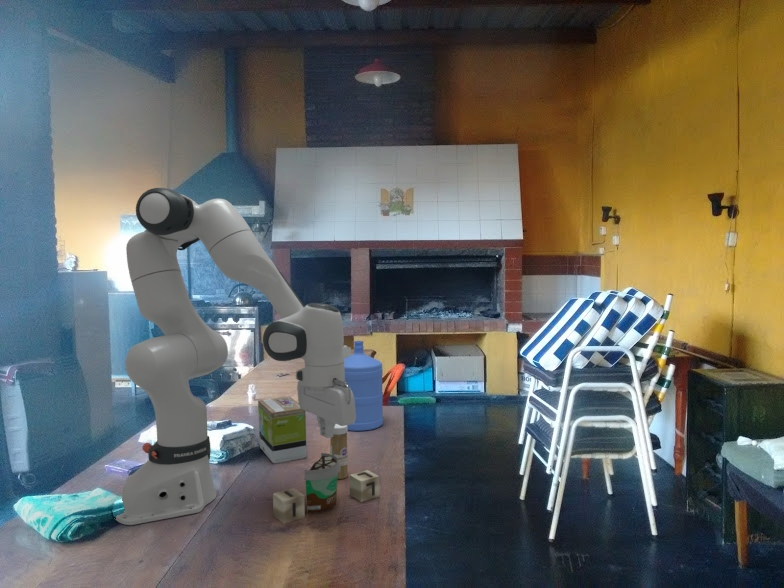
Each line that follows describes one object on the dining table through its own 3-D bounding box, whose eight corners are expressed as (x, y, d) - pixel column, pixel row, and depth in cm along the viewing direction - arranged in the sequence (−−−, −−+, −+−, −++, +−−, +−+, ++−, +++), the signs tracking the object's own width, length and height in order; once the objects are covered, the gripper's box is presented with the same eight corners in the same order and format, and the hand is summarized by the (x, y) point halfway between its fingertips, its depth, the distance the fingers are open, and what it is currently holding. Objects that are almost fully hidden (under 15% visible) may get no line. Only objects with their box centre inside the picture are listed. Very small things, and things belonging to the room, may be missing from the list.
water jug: (385, 418, 201) (384, 338, 199) (380, 432, 185) (379, 345, 183) (341, 417, 202) (339, 338, 200) (332, 431, 187) (330, 345, 185)
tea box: (258, 448, 171) (257, 399, 170) (291, 443, 175) (290, 395, 174) (272, 464, 158) (271, 411, 157) (307, 458, 162) (306, 406, 161)
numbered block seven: (361, 502, 133) (361, 480, 133) (349, 495, 137) (349, 473, 137) (379, 497, 136) (379, 475, 135) (367, 490, 140) (367, 469, 140)
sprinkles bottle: (341, 481, 146) (341, 428, 145) (326, 477, 148) (325, 426, 147) (351, 474, 150) (350, 423, 149) (336, 471, 152) (336, 421, 151)
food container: (332, 518, 125) (331, 472, 124) (304, 515, 126) (303, 471, 126) (347, 494, 137) (347, 453, 136) (322, 493, 138) (322, 452, 138)
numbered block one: (283, 524, 123) (283, 500, 122) (273, 515, 127) (272, 492, 126) (305, 518, 125) (304, 494, 125) (294, 509, 130) (293, 487, 129)
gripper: (362, 380, 123) (363, 444, 124) (315, 367, 140) (317, 424, 141) (336, 385, 120) (338, 451, 120) (291, 371, 136) (293, 429, 137)
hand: (326, 436), depth 131 cm, fingers closed
